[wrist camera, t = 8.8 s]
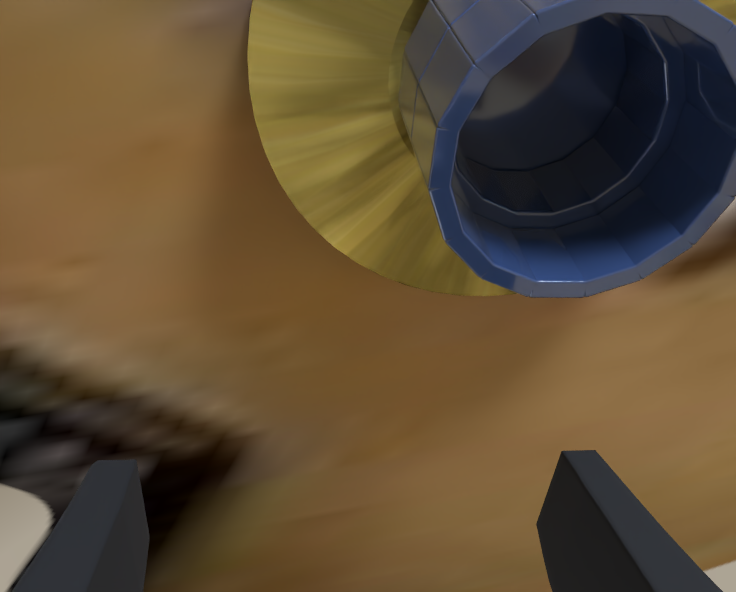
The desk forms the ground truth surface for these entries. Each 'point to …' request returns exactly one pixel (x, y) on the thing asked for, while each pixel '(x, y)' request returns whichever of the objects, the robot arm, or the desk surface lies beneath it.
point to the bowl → (571, 135)
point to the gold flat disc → (354, 133)
